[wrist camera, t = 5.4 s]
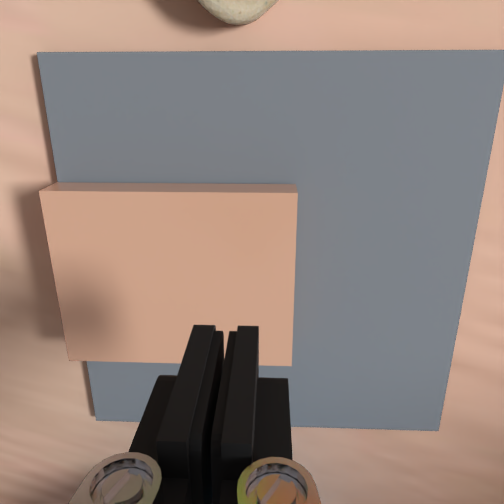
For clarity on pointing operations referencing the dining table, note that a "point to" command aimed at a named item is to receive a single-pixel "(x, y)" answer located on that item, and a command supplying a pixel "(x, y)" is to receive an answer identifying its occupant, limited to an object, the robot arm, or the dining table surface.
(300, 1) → the dining table surface
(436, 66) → the mat
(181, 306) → the tile
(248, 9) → the wooden puzzle
